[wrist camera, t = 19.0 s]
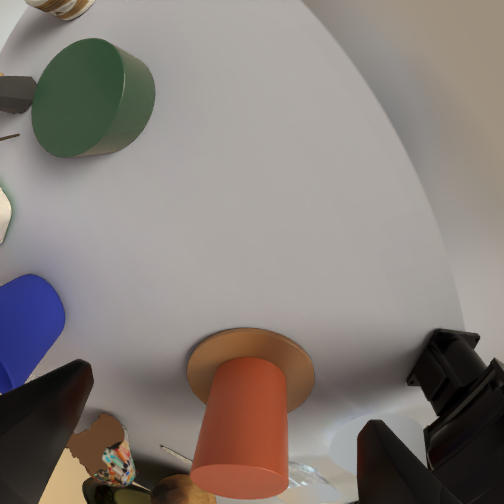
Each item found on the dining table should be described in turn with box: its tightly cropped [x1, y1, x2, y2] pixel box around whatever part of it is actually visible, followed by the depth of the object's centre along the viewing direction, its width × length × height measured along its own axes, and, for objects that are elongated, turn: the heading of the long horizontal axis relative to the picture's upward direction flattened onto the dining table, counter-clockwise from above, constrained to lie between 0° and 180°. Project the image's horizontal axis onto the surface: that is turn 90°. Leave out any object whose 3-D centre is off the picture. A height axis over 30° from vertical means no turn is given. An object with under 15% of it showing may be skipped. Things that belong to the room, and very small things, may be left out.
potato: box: [150, 474, 216, 504], centre depth 28 cm, size 8×14×8 cm
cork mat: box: [187, 328, 315, 413], centre depth 23 cm, size 11×11×1 cm
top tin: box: [190, 357, 289, 499], centre depth 18 cm, size 6×6×10 cm
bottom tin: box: [31, 38, 155, 158], centre depth 15 cm, size 8×8×4 cm
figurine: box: [65, 414, 139, 487], centre depth 28 cm, size 9×9×15 cm
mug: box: [0, 274, 65, 394], centre depth 18 cm, size 8×12×10 cm
